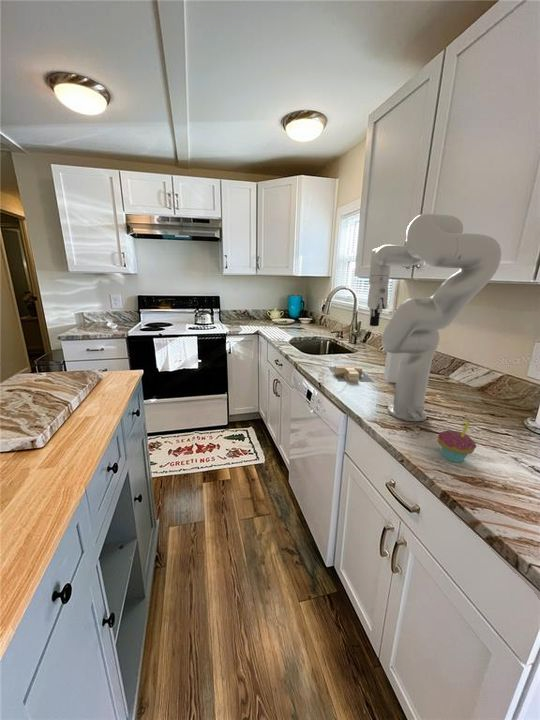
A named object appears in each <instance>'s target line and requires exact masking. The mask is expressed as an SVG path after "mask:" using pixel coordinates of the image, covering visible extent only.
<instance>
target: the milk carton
mask: <svg viewBox="0 0 540 720" xmlns="http://www.w3.org/2000/svg"><path fill="white" fill-rule="evenodd" d="M404 354H405V353H390V352H387V351H386V357H385V364H384V371H383V378H384V380H385V381H386V382H387V383H395V384H396V382H397V375H398V369H399V364H400V361H401V359H402V357H403V356H404Z"/></svg>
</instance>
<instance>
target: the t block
mask: <svg viewBox="0 0 540 720" xmlns="http://www.w3.org/2000/svg"><path fill="white" fill-rule="evenodd" d="M333 367H334V374H335V375H336V376H345V378H346V379H347V380H348V381H349V382H348V383H359V382H358V380H359V376H362V371H363V368H362V366H361V365H334V366H333Z"/></svg>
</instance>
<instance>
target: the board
mask: <svg viewBox="0 0 540 720" xmlns="http://www.w3.org/2000/svg"><path fill="white" fill-rule="evenodd" d="M334 367H335V366H327V368H328V370H329V371H330V372H331V374H332V375H333V376H334V377H335V378H336V380H337V382H340V383H341V382H348V383H350V382H349V381H348V380H347V379H346V378H345V376H336V375H335V374H334ZM374 382H375V381H374V380H373V379H372V378H371V377H370V376H368V374H366V372H364V370H362V376H359V380H358V382H357V383H374Z"/></svg>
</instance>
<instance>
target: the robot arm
mask: <svg viewBox="0 0 540 720" xmlns="http://www.w3.org/2000/svg"><path fill="white" fill-rule="evenodd" d="M463 232H464V225H463V222H462V221H461V220H460V219H459V218H458V217H456V216H454V215H450V214H449V215H448V214H433V213H423V214H422V213H421V214H419V215H417V216H415V217H414V218H413V220H412V221H411V222H410V223H409V225H408V226H407V229H406V235H405V236H406V240H405V245H403V244H401V245H400V244H384V245H381V246H380V247H376V248H374V249H372V251H371V257H370V266H369V275H368V277H369V279H368V285H369V290H368V295H367V308H369V311H370V314H369V315H370V317H369V326H370V327H379V324H380V317H381V313H383V310H386V309H387V308H388V300H389V298H388V296H389V287H388V286H389V281H390V272H391V267H397V268H399V267H400V268H401V267H402V268H406V267H407V268H408V267H412V266H415V265H418V264H420V263H423V261H424V262H425V263H426V264H427V265H429V266H431V267H433V268H440V269H441V268H444V269H459V270H458V271H457V272H455V273H454V274H452V275H451V276H449V277H448V278H447V279H445V280H444V281H443V282H442V283H441V285H440V286H439V287H438V289H437V290H436V291H435V292H434V294H433V295H431V296H429V297H412V298H411V297H410V298H408V299H406V300H404V301H403V302H401V303H400V305H399V306H398V307H397V309H396V310H395V311H394V313H393V315H392V316H391V318H390V320H389V322H388V323H387V324H386V327H385V328H384V330H383V333H382V334H381V335H382V336H381V346H382V348H383V350H385V351H386V353H387V352H390V353H405V354H404V356H403V357H402V359H401V361H400V364H399V369H398V375H397V382H396V383H395V389H394V390H395V391H394V396H393V402H392V403H391V404H389V405H388V406H387V412H388V413H389V414H390V415H391V416H393V417H394V418H397V419H399V420H404V421H408V422H423V421H426V419H428V418H427V417H428V413H427V411H426V410H424V405H425V400H426V395H427V389H428V383H429V378H430V373H431V367H432V363H433V360H434V359H433V358H434V356H435V353H436V351H437V348H438V346H439V342H440V332H439V331H440V330H444V329H446V328H447V327H449V326H450V325H451V324H452V322H454V320H455V319H456V318H457V317H458V315H460V314H461V312H462V311H463V310H464V309H465V308H466V306H467V305H468V303H469V302H470V301H471V300H472V299H473V298H474V297H475V296H476V295H477V294H478V293H479V292H480V291H481V290H482V289H483V288H484V287H486V285H487V284H488V283H489V282H490V281H491V280H492V278H493V277H494V275H495V274H496V272H497V271H498V268H499V267H500V264H501V259H502V249H501V246H500V244H499V242H498V241H497V240H496V239H495V238H494V237H492V236H490V235H486V234H481V233H463Z"/></svg>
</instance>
